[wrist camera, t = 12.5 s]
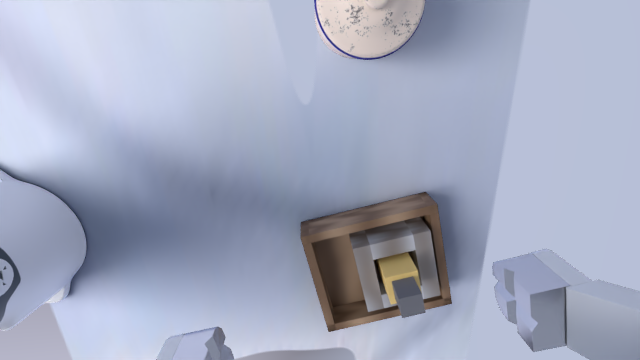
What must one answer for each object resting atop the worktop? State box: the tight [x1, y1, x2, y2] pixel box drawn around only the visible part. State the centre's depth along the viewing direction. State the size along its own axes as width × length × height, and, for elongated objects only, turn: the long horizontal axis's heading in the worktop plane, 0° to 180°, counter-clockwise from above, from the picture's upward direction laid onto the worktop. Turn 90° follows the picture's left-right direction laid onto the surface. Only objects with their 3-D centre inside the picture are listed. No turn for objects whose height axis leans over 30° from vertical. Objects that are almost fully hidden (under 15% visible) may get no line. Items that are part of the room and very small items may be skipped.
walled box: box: [301, 192, 452, 332], centre depth 43 cm, size 16×14×5 cm
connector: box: [376, 252, 425, 318], centre depth 40 cm, size 4×4×10 cm
